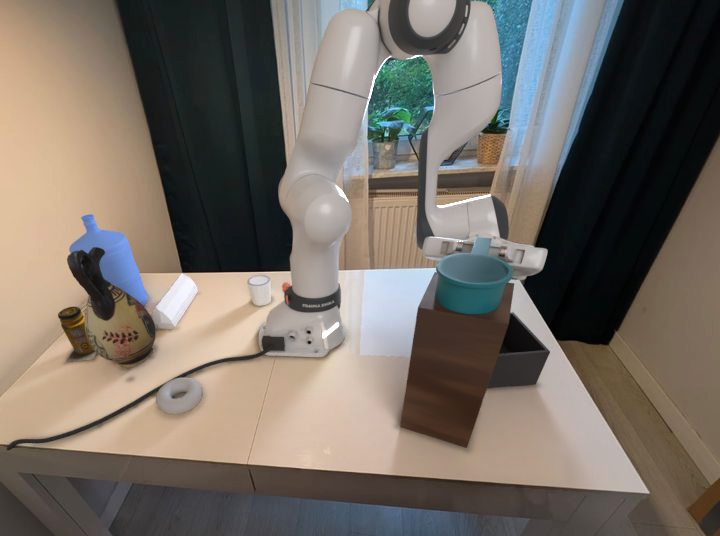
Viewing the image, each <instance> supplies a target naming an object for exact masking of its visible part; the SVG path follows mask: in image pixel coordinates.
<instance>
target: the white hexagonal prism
mask: <svg viewBox="0 0 720 536" xmlns="http://www.w3.org/2000/svg"><path fill="white" fill-rule="evenodd" d="M198 292H199V291H198V287H197V284H196V283H195V282H194V280H193V279H192V278H191V277H190V276H189V275H187V274H184V273H181V274H179V276H178V277H177V278H176V279H175V281H174V282H173V283H172V285H171V286H170V287H169V288H168V290H167V291H166V293H165V294H164V295H163V297H161V299H160V300H159V302H158V303H157V304H156V305H155V307H154V308H153V309H152V311H151V312H150V315H151V317H152V319H153V321H154V324H155V328H156V330H172V329H174V328H176V326H177V325H178V323H179V322H180V320H182V317H183V316H184V314H185V312H186V311H187V309H188V308H189V306H190V305H191V303H192V302H193V300H194V298H195V297H196V295H197V294H198Z"/></svg>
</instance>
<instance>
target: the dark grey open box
mask: <svg viewBox="0 0 720 536" xmlns="http://www.w3.org/2000/svg"><path fill="white" fill-rule="evenodd" d="M550 353H551V350H550V349H548V347H547V346H546V345H545V344H544V342H542V341H541V340H540V339H539V338H538V336H537V335H535V333H534V332H532V331H531V330H530V328H529V327H528V326H527V325H526V324H525V323H524V321H522V320H521V319H520V318H519V317H518V315H517V314H516V313H515V312H513V311H512V312H511V311H510V318H509V324H508V327H507V330H506V333H505V336H504V339H503V342H502V345H501V348H500V351H499V354H498V357H497V360H496V363H495V366H494V369H493V372H492V375H491V378H490V381H489V384H488V387H487V390H488V389H501V388H510V387H511V388H512V387H524V386H535V385H537V383H538V381H539V379H540V376H541V374H542V371H543V369H544V367H545V365H546V363H547V360H548V358H549V356H550Z"/></svg>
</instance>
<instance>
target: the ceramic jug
mask: <svg viewBox="0 0 720 536" xmlns="http://www.w3.org/2000/svg"><path fill="white" fill-rule="evenodd" d="M104 254H105V251H104V249H102V248H98V247H93V248H92V249H91V250H90V251H89V253H86V252H85V251H83V250H80V251H74V252H72V253H70V254H68V255H67V258H66V261H67V265H68V269H69V270H70V272H71V275H72V276H73V278H74V279H75V281H76V282H78V284H79V286H81V288H82V289H83V290H84V291H85V292H86V293H87V295H88V297H87V300H86V306H85V312H84V316H85V319H84V324H85V331H86V335H87V338H88V341H89V343H90V345H91V346H92V348H93V350H94V351H95V352H96V353H97V354H96V355H98V356H100V357H101V358H103V359H105V360H106V361H111V362H113V363H116V364H118V365H119V366H121V367H123V368H125V369H126V368H127V369H128V368H129V369H131V368H132V367H135V366H138V365H140V364H142V363H144V362H146V361H147V360H148V359H150V358H151V356H152V355H153V352H154V348H153V346H154V344H155V340H156V336H157V332H156V331H157V329H156V328H155V324H154V321H153V319H152V317H151V313H150V312H149V311H148V309H146V307H145V305H144V306H143V305H142V304H141V303H140V302H139V301H138V300H136V299H135V298H134V297H132V296H131V295H129V294H128V293H126V292H125V291H123V290H122V289H120V288H118V287H116V286H114V285H112V284H111V283H110V282H108V281H107V280H105V279H104V278H103V276H102V273H101V270H100V265H99V264H100V260H101V258H102V257H103V255H104ZM81 264H82V265H81ZM82 267H83V268H82Z"/></svg>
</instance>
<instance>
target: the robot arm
mask: <svg viewBox="0 0 720 536" xmlns="http://www.w3.org/2000/svg"><path fill="white" fill-rule="evenodd" d="M497 27H498V26H497V22H496V18H495V14H494V11H493V9H492V7H491V6H490V5H489V4H488V3H487V2H485V1H480V0H372V2H371V3H370V4H369V6H368V7H367V8H366V10H361V9H357V8H347V9H343V10H340V11H338V12H336V13H335V14H334V15H333V16H332V17H331V18H330V20H328V23H327V25H326V27H325V30H324V33H323V36H322V38H321V41H320V44H319V47H318V50H317V53H316V56H315V60H314V63H313V68H312V71H311V76H310V80H309V84H308V89H307V93H306V98H305V103H304V107H303V112H302V117H301V121H300V125H299V129H298V133H297V137H296V140H295V143H294V146H293V149H292V151H291V154H290V157H289V159H288V162H287V164H286V168H285V171H284V174H283V175H282V177H281V178H280V181H279V183H278V189H277V194H278V201H279V205H280V207H281V210H282V211H283V213H284V214H285V215H286V216H287V218H288V219H289V222H290V225H291V229H292V245H291V248H292V249H291V253H290V255H289V267H290V268H289V269H290V277H291V278H290V279H291V284H290V283H289V282H283V283H282V284H281V289H282V292H283V297H284V300H283V301H281V302H280V303H279V304H277V305H275V306H274V307H273V308H272V309H270V311H269V312H268V314H267V317H266V321H265V322H264V323H263V324H262V326H261V327H260V329H259V331H258V337H257V338H258V340H257V341H258V347H259V350H260V352H258V353H254V354H250V355H243V356H232V357H225V358H220V359H216V360H212V361H209V362H207V363H204V364H201V365H199V366H196V367H194V368H192V369H189V370H187V371H185V372H182V373H180V374H178V375H177V376H174V377H173V378H172V379H169V380H168V381H166V382H164V383H162V384H160V385H159V386H157V387H155V388H153V389H151V390H150V391H148V392H146V393H145V394H143V395H142V396H140V397H138V398H136V399H135V400H133V401H131V402H129V403H128V404H126V405H124V406H122V407H119V409H117V410H115V411H113V412H111V413H109V414H107V415H106V416H104V417H101V418H99V419H97V420H95V421H93V422H90V423H87V424H85V425H83V426H80V427H77V428H75V429H73V430H70V431H67V432H63V433H61V434H57V435H53V436H50V437H49V436H48V437H45V438H20V439H16V440H14V441H11V442H10V443H9V444H8V446H7V447H6V451H11V450H13V448H14V447H16V446H17V445H21V444H47V443H51V442H55V441H59V440H62V439H64V438H65V439H66V438H68V437H71V436H75V435H77V434H79V433H83V432H84V431H87V430H89V429H92V428H94V427H96V426H99V425H101V424H103V423H105V422H107V421H109V420H111V419H113V418H114V417H116V416H119V415H120V414H122V413H124V412H126V411H127V410H129V409H131V408H133V407H135V406H136V405H138V404H139V403H141V402H143V401H144V400H146V399H148V398H149V397H151V396H152V395H154V394H157V393H158V391H159V389H160V388H161V387H162V386H163V385H164V384H166V383H167V382H169V381H171V380H173V379H176V378H186V377H187V376H190V375H192V374H193V373H196V372H199V371H201V370H204V369H207V368H209V367H211V366H215V365H219V364H222V363H227V362H238V361H247V360H253V359H256V358H259V357H262V356H270V357H271V356H272V357H294V358H295V357H297V358H298V357H299V358H324V357H326V356H327V355H328V354H329V353H330V351H331V350H333V349H335V348H336V347H338V346H340V344H342V343H343V342H344V341H345V338H346V330H345V328H344V325H343V321H342V316H341V305H342V289H341V284H340V281H339V280H340V252H341V249H342V248H341V247H342V242H343V238H344V237H345V235H346V234H347V233H348V231H349V230H350V227H351V225H352V222H353V210H352V209H353V208H352V206H351V204H350V202H349V199H348V197H347V196H346V194H345V193H344V191H343V190H342V189H341V188H340V187H339V186H338V185H337V184H336V182H337V181H336V180H337V179H338V176H339V174H340V171H341V170H342V167H343V165H344V164H345V162H346V160H347V158H348V157H349V156H350V155H351V154H352V153H353V152H354V150H355V149H356V147H357V144H358V142H359V137H360V134H361V130H362V128H363V127H362V126H363V124H364V120H365V117H366V114H367V110H368V107H369V102H370V100H371V96H372V93H373V88H374V84H375V80H376V78H377V76H378V74H379V71H380V70H381V68H382V67H383V65H384V64H385V62H386V61H396V60H402V61H404V60H405V61H407V60H412V59H416V58H417V57H421V58H423V60H424V61H425V62H426V64H427V66H428V68H429V72H430V75H431V80H432V92H433V112H432V116H431V119H430V122H429V124H428V125H427V126H426V127H425V128H424V129H423V130H422V131H421V132H422V133H421V135H420V140H419V145H418V146H419V147H418V164H417V165H418V167H417V205H416V217H415V221H414V222H415V224H414V229H413V231H414V232H413V235H414V241H415V243H416V246H417V248H419V250H421V256H422V257H423V258H427V259H428V260H433V261H437V262H438V261H439V260H440V259H442V258H443V257H446V256H448V255H452V254H458V253H471V251H472V249H473V246H474V243H475V240H476V237H483V238H492V240H491V244H490V248H489V251H488V255H489V256H493V257H496V258H499V259H501V260H503V261H505V262H507V263H508V264H509V265H510V266H511V267H512V269H513V276H512V279H511V281H512V280H514V281H517V280H519V281H523V280H526V279H527V277H530V276H534V275H537V274H539V273H540V272H542V271H543V269H544V266H545V263H546V260H547V256H548V251H549V250H548V249H547V248H545V247H536V246H534V245H532V244H527V243H522V242H516V241H510V240H508V239H509V233H510V232H509V230H510V225H509V216H508V210H507V207H506V204H505V203H504V202H503V201H502V200H501V199H500V198H499V197H497V196H495V195H493V194H487V195H482V196H477V197H473V198H469V199H466V200H462V201H458V202H453V203H449V204H444V205H439V204H437V195H438V194H437V192H438V175H439V169H440V167H441V166H442V164H443V162H444V161H445V160H446V159H447V158H448V157H449V156H450V155H452V154H453V153H454V152H455V151H456V150H458V149H459V148H461V147H462V146H464V145H466V143H468V142H469V141H471V140H473V139H474V138H475V137H477V136H478V135H479V134H481V132H482V131H483V130H484V129H485V128H487V126H489V124H490V123H491V122H492V120H493V119H494V117H495V116H496V114H497V112H498V110H499V108H500V105H501V101H502V91H503V90H502V88H503V71H502V70H503V69H502V68H503V67H502V55H501V47H500V39H499V32H498V28H497Z"/></svg>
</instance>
